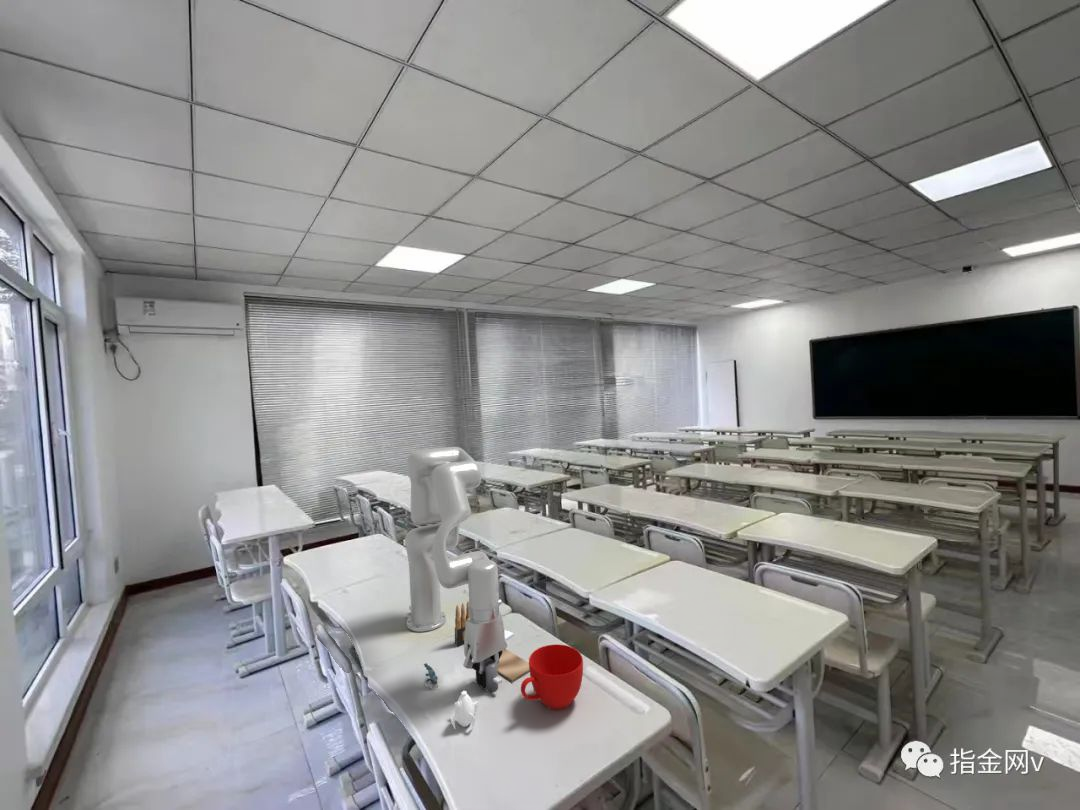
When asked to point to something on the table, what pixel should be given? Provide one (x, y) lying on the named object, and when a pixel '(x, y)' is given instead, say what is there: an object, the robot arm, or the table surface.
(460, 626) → the ammunition clip
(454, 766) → the table surface
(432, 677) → the sculpture
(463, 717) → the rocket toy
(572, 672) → the ceramic cup
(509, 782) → the table surface
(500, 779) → the table surface
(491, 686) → the connector
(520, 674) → the wood pad
